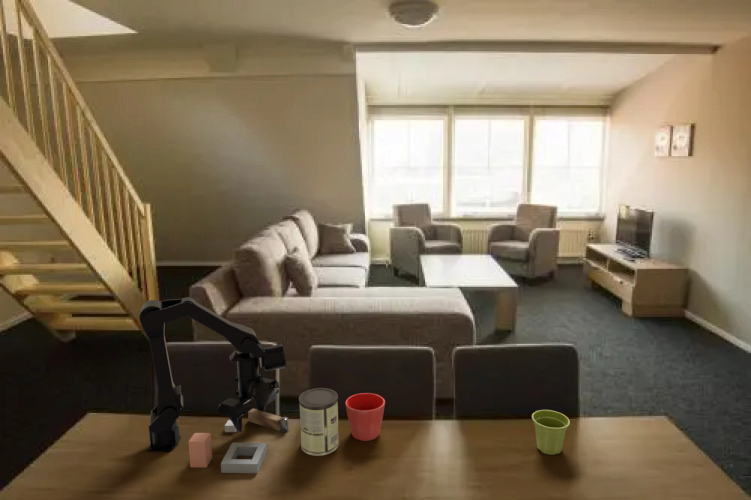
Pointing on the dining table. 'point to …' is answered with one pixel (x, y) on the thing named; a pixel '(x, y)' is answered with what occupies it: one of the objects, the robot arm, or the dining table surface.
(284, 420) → the pivot pin
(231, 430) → the stop block
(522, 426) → the dining table surface
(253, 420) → the leg bar
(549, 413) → the plant pot
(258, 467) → the socket
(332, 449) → the coffee can
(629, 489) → the dining table surface
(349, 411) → the flower pot
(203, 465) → the leg peg
